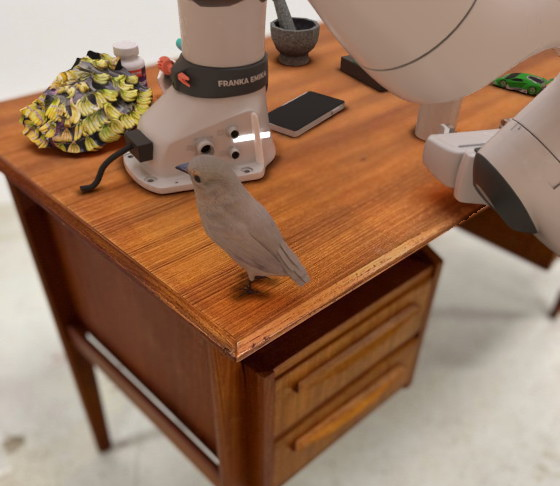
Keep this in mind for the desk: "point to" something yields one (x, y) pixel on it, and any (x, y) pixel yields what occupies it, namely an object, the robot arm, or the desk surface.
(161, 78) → the long cone
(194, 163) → the bird
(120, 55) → the pill bottle
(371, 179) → the desk surface
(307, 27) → the mortar and pestle
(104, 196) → the desk surface
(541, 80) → the toy car
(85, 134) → the banana patterned fabric
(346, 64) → the scale
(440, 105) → the cup
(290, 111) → the smartphone
